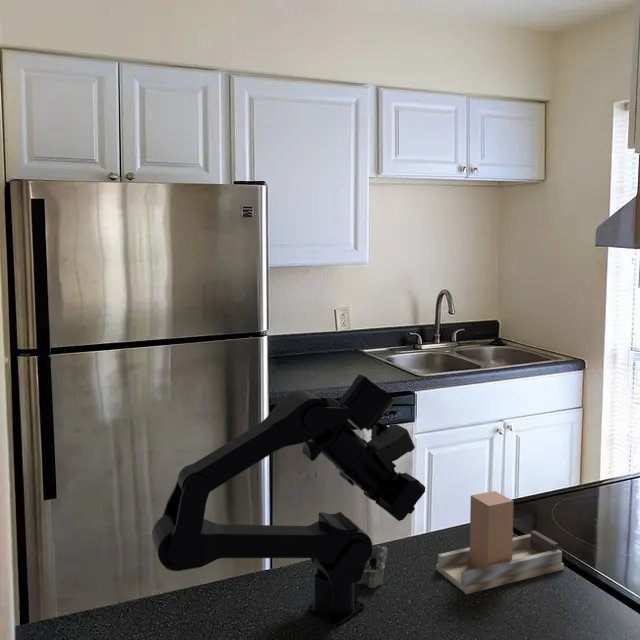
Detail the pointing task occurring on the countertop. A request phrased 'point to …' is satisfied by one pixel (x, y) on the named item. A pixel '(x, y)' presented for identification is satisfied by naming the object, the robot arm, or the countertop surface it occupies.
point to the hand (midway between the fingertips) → (412, 510)
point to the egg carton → (376, 576)
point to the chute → (502, 564)
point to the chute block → (490, 529)
